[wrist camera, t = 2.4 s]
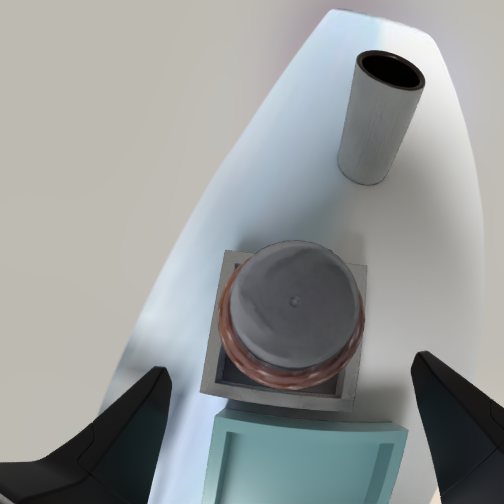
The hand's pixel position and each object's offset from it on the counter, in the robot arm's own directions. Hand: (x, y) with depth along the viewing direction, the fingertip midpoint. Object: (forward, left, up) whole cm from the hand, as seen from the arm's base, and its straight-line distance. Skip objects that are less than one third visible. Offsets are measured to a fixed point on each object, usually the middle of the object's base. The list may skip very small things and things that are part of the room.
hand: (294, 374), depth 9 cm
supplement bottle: (+2, 0, -10) cm, 10 cm away
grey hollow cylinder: (+17, -5, -10) cm, 20 cm away
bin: (-9, -2, -10) cm, 14 cm away
